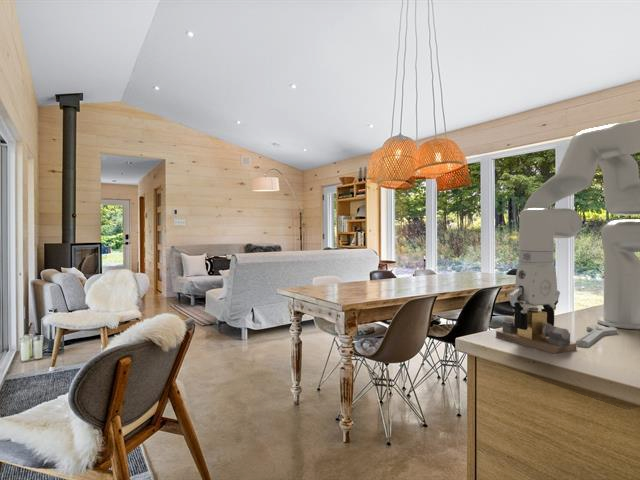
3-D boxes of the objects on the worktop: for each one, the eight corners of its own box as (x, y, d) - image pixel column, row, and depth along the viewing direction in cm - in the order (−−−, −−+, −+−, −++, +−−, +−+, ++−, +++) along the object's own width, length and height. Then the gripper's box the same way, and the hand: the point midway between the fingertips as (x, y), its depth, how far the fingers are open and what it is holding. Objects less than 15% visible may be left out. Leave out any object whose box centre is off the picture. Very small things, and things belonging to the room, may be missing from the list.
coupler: (546, 338, 98) (546, 309, 98) (531, 340, 97) (532, 310, 97) (531, 334, 103) (532, 305, 103) (517, 335, 101) (517, 306, 101)
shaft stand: (517, 333, 109) (517, 313, 109) (576, 349, 95) (576, 325, 95) (496, 336, 106) (496, 315, 106) (553, 353, 91) (554, 329, 91)
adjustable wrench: (587, 350, 96) (587, 342, 96) (558, 344, 101) (558, 337, 101) (619, 333, 112) (619, 327, 112) (593, 329, 117) (593, 323, 117)
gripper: (524, 259, 93) (523, 333, 93) (572, 258, 100) (571, 327, 100) (498, 258, 100) (496, 326, 100) (544, 256, 107) (543, 321, 107)
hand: (534, 326), depth 100 cm, fingers open, 9 cm apart
